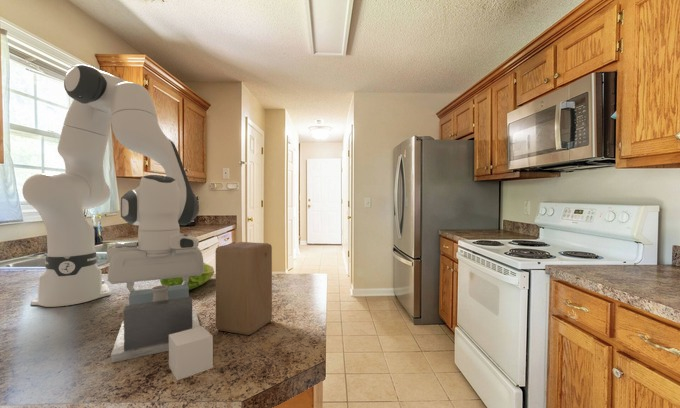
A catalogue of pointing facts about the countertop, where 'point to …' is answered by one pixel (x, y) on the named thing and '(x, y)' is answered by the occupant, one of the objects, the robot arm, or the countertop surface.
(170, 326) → the base
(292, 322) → the countertop surface
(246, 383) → the countertop surface
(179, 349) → the white cube
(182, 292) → the sliding jaw
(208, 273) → the lettuce
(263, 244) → the wooden block
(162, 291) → the flask
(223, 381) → the countertop surface
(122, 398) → the countertop surface
